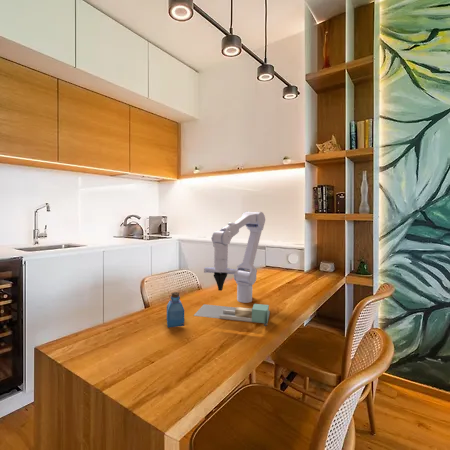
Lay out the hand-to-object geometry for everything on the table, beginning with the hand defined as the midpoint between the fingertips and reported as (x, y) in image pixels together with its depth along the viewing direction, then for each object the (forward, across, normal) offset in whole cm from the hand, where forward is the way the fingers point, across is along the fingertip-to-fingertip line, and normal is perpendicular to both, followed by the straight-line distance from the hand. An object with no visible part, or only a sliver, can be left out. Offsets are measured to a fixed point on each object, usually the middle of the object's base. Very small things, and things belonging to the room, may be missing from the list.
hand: (220, 289), depth 124 cm
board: (+10, +6, -2) cm, 12 cm away
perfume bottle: (+10, -14, -16) cm, 24 cm away
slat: (+9, +14, -5) cm, 17 cm away
